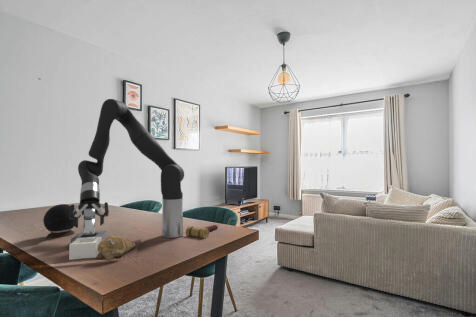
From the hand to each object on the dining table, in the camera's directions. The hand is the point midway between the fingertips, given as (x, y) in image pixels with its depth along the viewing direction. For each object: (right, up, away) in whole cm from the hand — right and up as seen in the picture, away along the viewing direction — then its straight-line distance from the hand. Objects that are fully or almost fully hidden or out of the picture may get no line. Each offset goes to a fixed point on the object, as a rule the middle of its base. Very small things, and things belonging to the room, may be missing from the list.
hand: (89, 225), depth 103 cm
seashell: (+18, -8, -11) cm, 23 cm away
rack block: (+7, -8, -13) cm, 17 cm away
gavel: (+46, -9, +21) cm, 51 cm away
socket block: (0, -8, 0) cm, 8 cm away
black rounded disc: (-21, -9, +14) cm, 27 cm away
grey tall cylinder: (0, -7, 0) cm, 7 cm away
